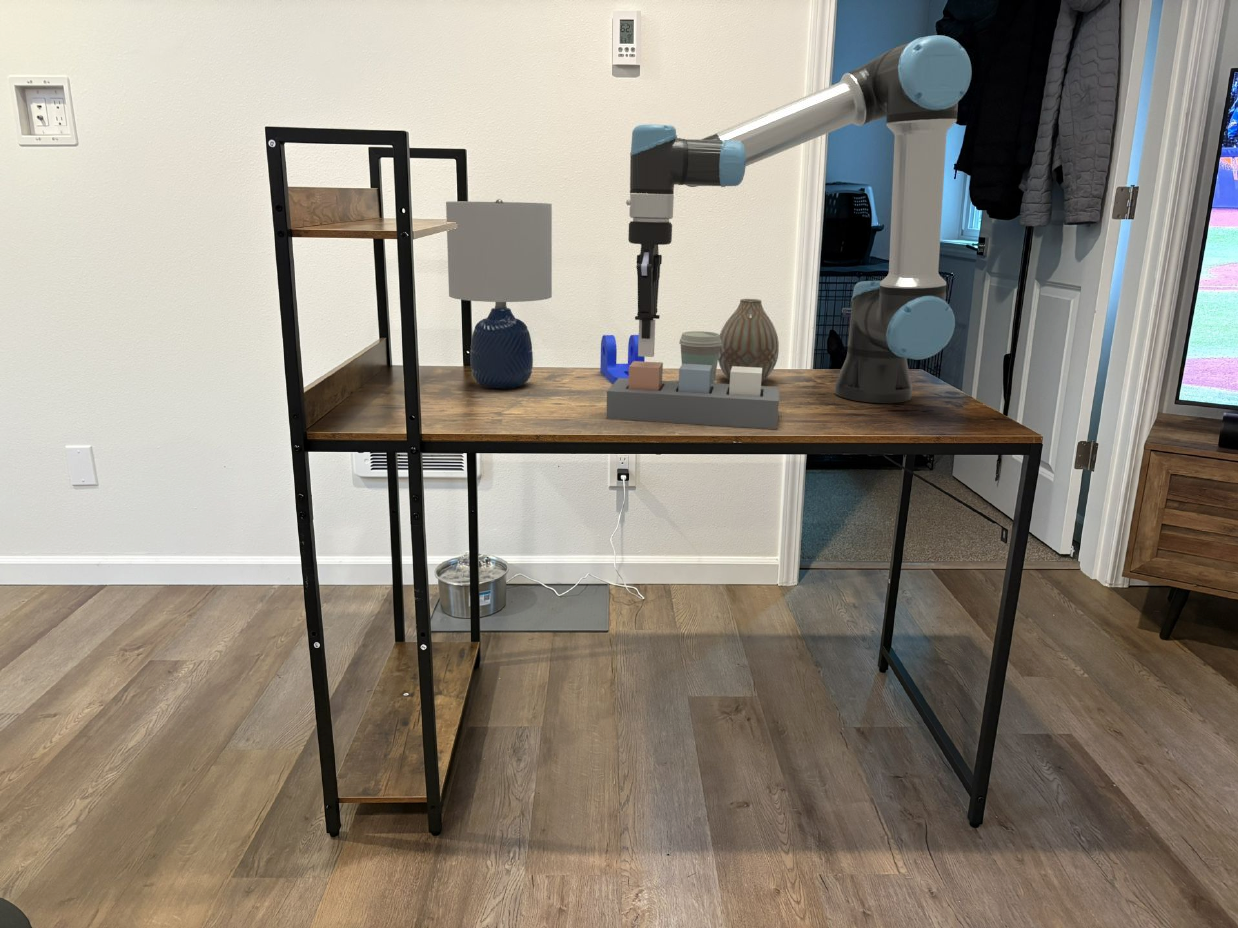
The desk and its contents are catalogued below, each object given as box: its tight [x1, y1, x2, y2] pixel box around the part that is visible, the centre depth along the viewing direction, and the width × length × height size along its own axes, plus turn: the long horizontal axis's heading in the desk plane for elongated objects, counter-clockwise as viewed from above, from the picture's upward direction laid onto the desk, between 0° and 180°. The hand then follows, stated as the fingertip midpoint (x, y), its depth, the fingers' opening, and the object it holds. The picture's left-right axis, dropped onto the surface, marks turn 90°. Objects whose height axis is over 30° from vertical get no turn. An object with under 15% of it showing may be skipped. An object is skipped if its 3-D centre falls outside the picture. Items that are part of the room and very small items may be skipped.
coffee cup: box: [678, 330, 722, 383], centre depth 182 cm, size 9×8×12 cm
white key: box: [729, 366, 762, 397], centre depth 161 cm, size 5×5×4 cm
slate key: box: [678, 363, 712, 394], centre depth 163 cm, size 5×5×4 cm
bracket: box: [599, 334, 646, 385], centre depth 194 cm, size 18×8×9 cm, turn 13°
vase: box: [718, 298, 780, 383], centre depth 194 cm, size 13×13×18 cm
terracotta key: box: [628, 361, 664, 391], centre depth 164 cm, size 5×5×4 cm
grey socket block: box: [606, 378, 780, 430], centre depth 164 cm, size 30×12×5 cm, turn 80°
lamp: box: [445, 198, 553, 390], centre depth 181 cm, size 20×20×37 cm
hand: (646, 355), depth 163 cm, fingers closed
